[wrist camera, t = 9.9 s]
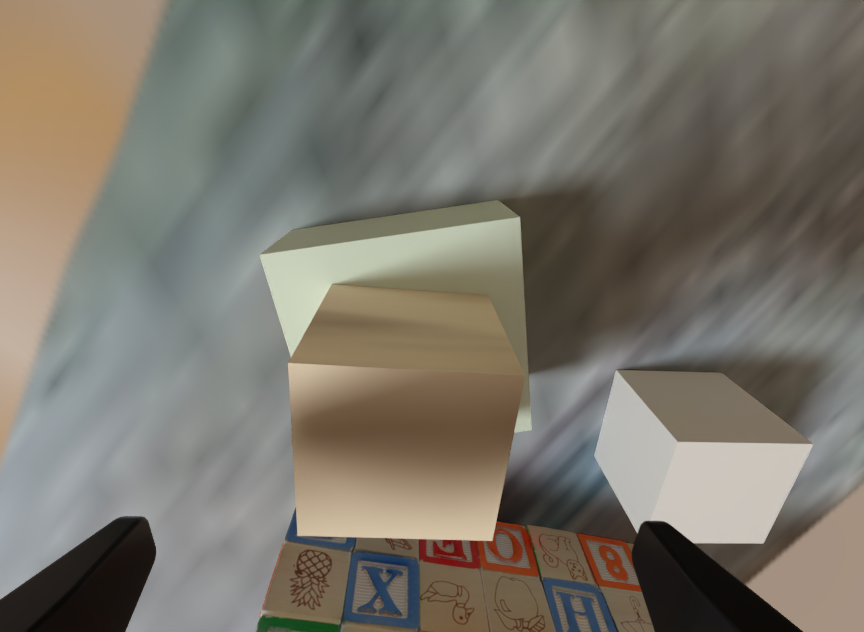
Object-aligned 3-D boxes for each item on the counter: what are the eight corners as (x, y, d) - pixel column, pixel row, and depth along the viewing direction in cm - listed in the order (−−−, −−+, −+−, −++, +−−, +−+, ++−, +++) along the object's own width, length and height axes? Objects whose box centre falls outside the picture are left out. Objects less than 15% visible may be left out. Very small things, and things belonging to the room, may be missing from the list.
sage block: (509, 374, 20) (531, 430, 16) (339, 398, 20) (322, 458, 16) (496, 198, 16) (520, 216, 13) (294, 228, 17) (259, 254, 13)
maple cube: (469, 421, 16) (492, 540, 11) (332, 415, 15) (297, 535, 11) (487, 294, 14) (525, 375, 9) (331, 284, 13) (288, 362, 9)
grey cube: (689, 456, 22) (763, 543, 17) (593, 455, 21) (642, 542, 17) (720, 371, 20) (813, 443, 15) (615, 368, 19) (677, 441, 15)
